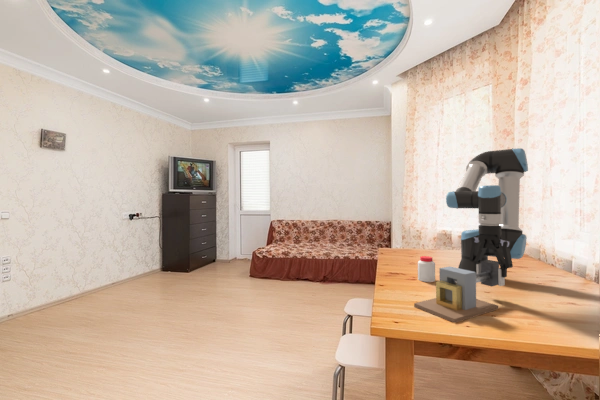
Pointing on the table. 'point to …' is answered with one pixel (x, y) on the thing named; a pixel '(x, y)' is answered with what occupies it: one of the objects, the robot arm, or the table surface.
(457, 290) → the frame
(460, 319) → the bearing block
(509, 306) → the table surface
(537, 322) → the table surface
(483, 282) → the shaft
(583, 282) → the table surface
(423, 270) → the pill bottle
